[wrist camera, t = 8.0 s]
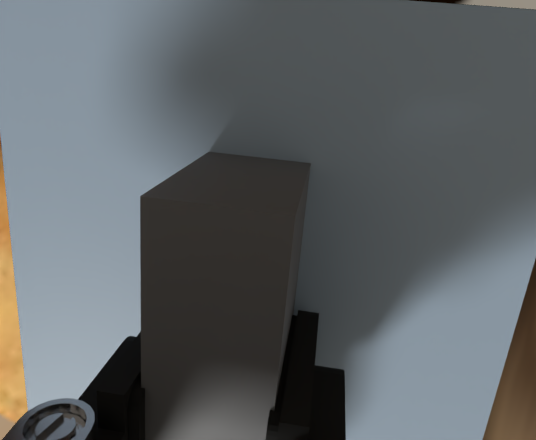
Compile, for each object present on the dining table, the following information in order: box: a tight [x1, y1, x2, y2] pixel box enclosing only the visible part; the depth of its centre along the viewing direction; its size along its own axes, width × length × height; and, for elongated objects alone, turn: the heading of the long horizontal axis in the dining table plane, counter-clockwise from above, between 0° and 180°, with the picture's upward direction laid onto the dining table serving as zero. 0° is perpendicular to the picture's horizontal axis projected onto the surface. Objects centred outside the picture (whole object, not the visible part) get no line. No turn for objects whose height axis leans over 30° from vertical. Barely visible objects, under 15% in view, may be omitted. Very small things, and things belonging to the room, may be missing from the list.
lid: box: [0, 0, 536, 440], centre depth 11 cm, size 17×13×5 cm
